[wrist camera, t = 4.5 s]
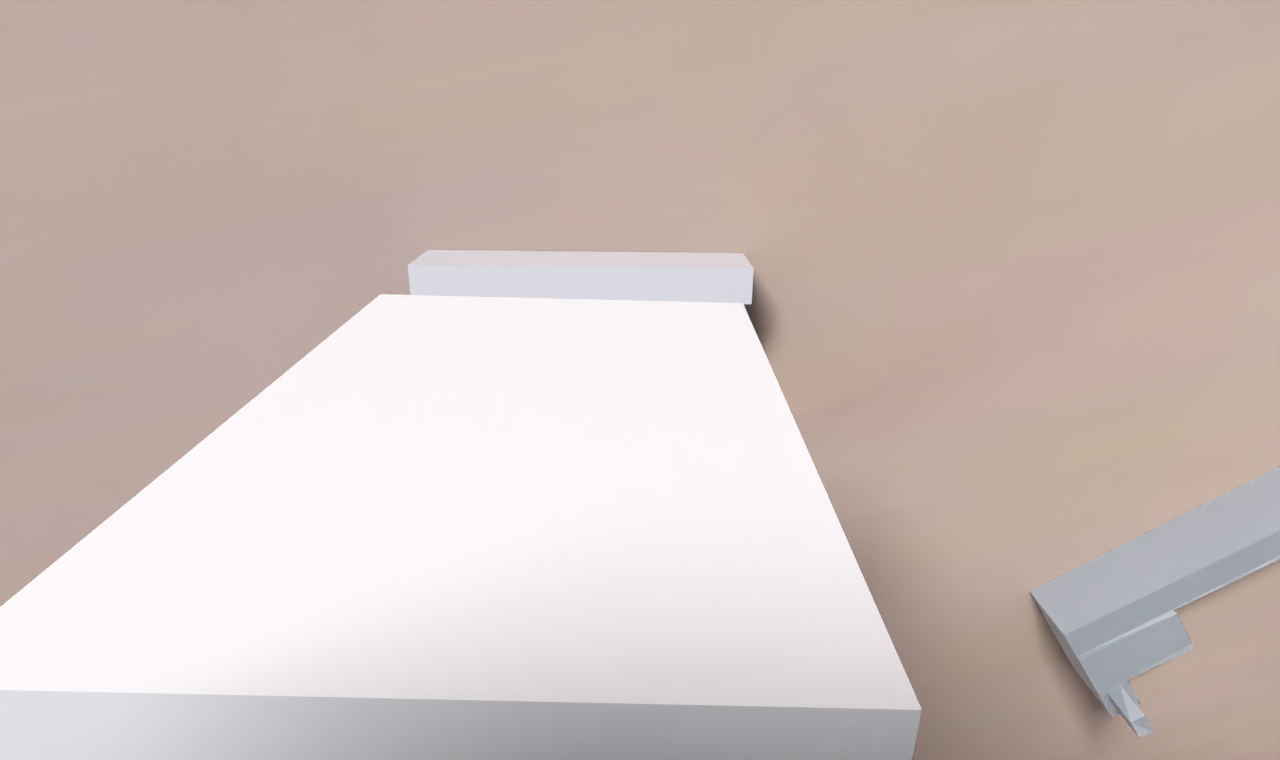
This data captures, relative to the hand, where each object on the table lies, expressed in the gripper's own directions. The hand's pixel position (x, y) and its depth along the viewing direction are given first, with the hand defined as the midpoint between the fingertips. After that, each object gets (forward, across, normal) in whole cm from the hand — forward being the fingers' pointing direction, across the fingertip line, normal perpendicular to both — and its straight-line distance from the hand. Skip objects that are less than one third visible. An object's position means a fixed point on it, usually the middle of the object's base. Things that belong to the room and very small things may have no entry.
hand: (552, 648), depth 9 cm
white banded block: (+2, 0, 0) cm, 2 cm away
